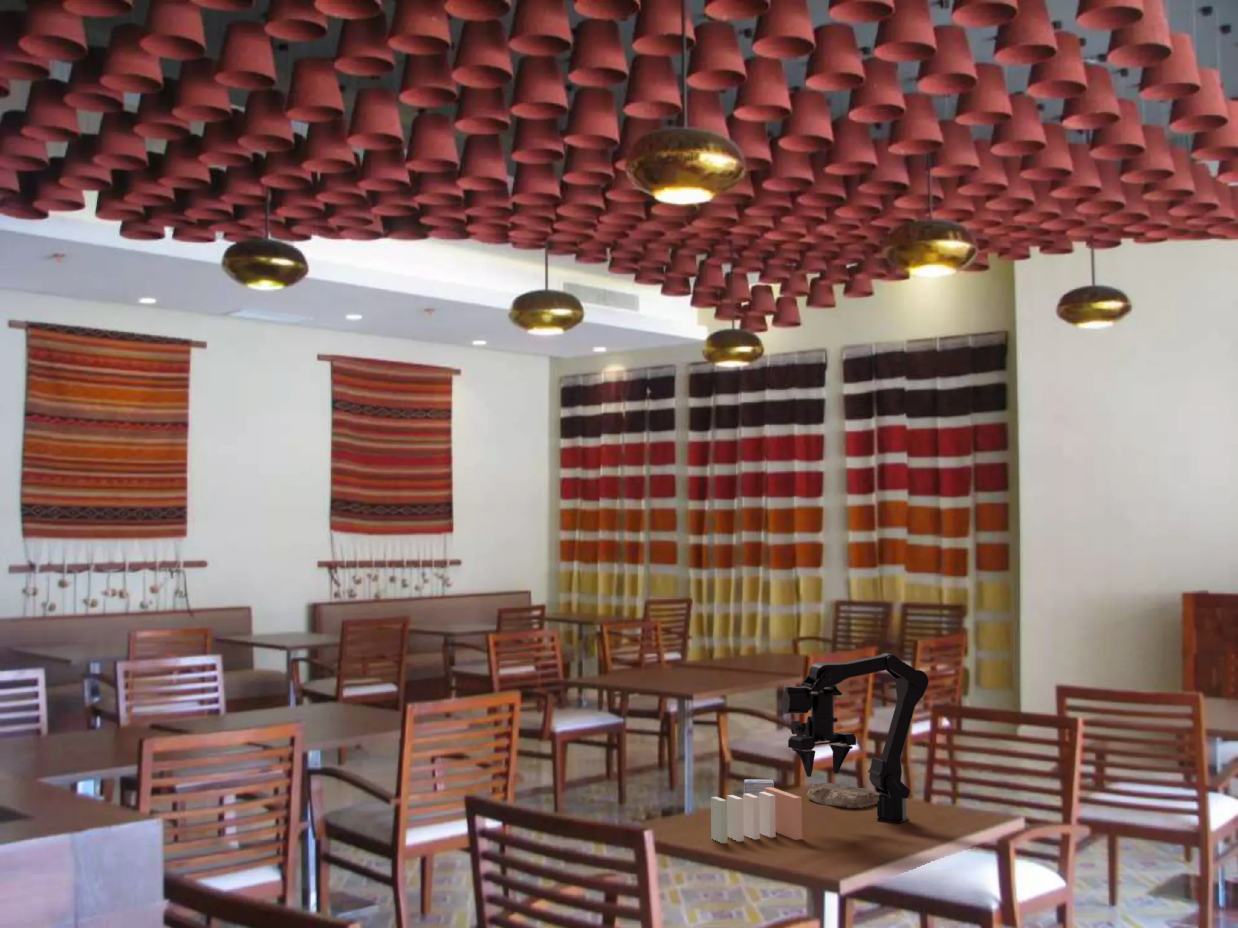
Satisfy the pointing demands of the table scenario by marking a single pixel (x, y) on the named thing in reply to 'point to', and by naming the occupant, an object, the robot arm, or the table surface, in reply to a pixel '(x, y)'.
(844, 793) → the flat grey rock
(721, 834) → the sage domino
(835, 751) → the robot arm
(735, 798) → the ivory domino
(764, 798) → the ivory domino
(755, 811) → the ivory domino
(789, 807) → the terracotta tile
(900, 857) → the table surface
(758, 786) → the medicine box
